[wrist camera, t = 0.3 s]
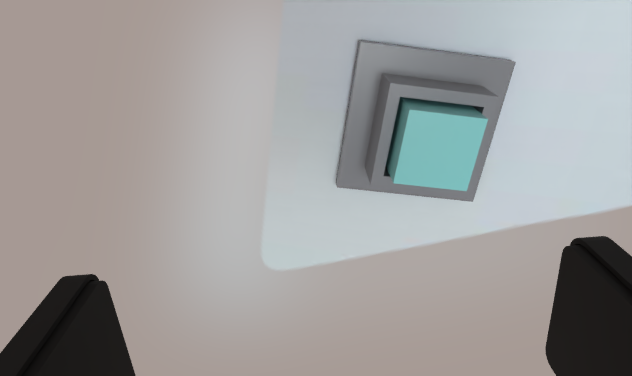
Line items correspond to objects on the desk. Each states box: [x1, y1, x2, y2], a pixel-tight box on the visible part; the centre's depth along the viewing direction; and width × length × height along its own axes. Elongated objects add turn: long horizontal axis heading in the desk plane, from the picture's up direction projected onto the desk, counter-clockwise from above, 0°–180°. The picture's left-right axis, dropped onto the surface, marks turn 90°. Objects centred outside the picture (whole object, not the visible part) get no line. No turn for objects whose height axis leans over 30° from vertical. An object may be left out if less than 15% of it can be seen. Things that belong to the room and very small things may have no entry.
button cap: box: [386, 97, 488, 191], centre depth 40 cm, size 6×6×4 cm
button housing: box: [336, 40, 516, 202], centre depth 42 cm, size 14×14×5 cm
